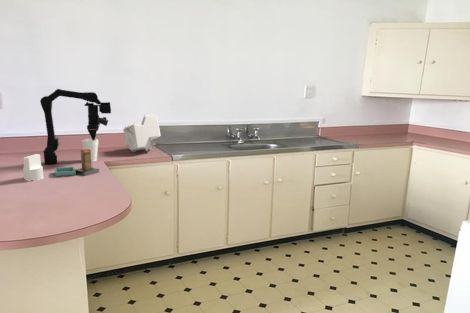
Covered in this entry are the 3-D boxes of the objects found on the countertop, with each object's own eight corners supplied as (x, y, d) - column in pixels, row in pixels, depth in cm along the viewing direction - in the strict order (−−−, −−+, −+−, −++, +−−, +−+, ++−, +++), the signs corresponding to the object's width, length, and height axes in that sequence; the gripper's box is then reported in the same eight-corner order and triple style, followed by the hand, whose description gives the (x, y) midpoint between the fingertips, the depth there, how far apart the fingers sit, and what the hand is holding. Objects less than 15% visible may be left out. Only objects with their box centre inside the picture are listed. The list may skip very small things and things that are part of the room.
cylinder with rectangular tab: (35, 181, 194) (33, 158, 191) (19, 180, 196) (17, 157, 193) (47, 177, 203) (45, 154, 200) (32, 175, 204) (30, 153, 202)
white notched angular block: (136, 152, 254) (130, 115, 255) (126, 156, 266) (119, 120, 267) (163, 149, 267) (156, 114, 269) (152, 153, 279) (146, 119, 280)
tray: (55, 177, 202) (54, 172, 202) (54, 172, 211) (54, 168, 211) (75, 175, 207) (75, 171, 206) (74, 171, 216) (74, 166, 215)
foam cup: (88, 163, 234) (87, 142, 231) (80, 160, 239) (78, 140, 237) (102, 160, 241) (101, 140, 239) (93, 158, 247) (92, 138, 244)
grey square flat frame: (74, 173, 211) (74, 169, 211) (88, 169, 219) (88, 166, 218) (85, 175, 207) (85, 172, 206) (99, 172, 214) (99, 168, 214)
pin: (82, 172, 212) (80, 149, 209) (87, 171, 215) (86, 148, 212) (86, 174, 210) (84, 150, 208) (91, 172, 213) (90, 149, 210)
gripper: (106, 115, 226) (107, 141, 230) (107, 111, 244) (108, 136, 247) (86, 115, 223) (87, 141, 226) (88, 111, 241) (89, 136, 244)
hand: (94, 138), depth 236 cm, fingers open, 9 cm apart
